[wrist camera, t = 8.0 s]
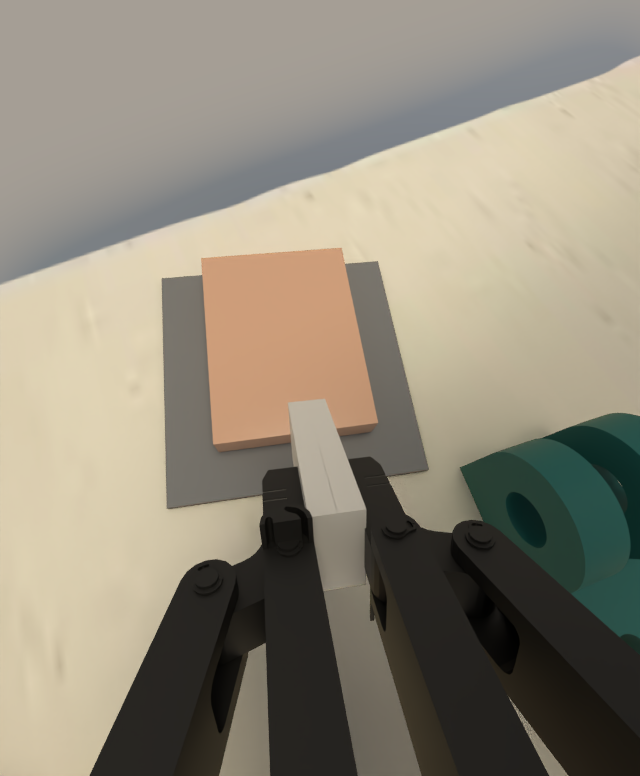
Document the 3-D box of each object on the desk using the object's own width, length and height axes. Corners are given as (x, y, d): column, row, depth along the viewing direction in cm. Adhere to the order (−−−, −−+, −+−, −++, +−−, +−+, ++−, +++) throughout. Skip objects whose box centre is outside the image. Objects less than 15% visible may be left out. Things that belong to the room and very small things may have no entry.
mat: (376, 265, 29) (377, 261, 29) (426, 470, 24) (428, 469, 24) (163, 281, 27) (161, 278, 27) (169, 508, 22) (167, 508, 22)
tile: (370, 432, 24) (337, 268, 28) (378, 422, 22) (341, 247, 26) (219, 452, 23) (207, 279, 27) (213, 444, 21) (201, 258, 25)
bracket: (458, 468, 25) (531, 437, 17) (551, 436, 26) (655, 394, 19) (618, 832, 19) (827, 1016, 12) (728, 770, 20) (978, 900, 13)
